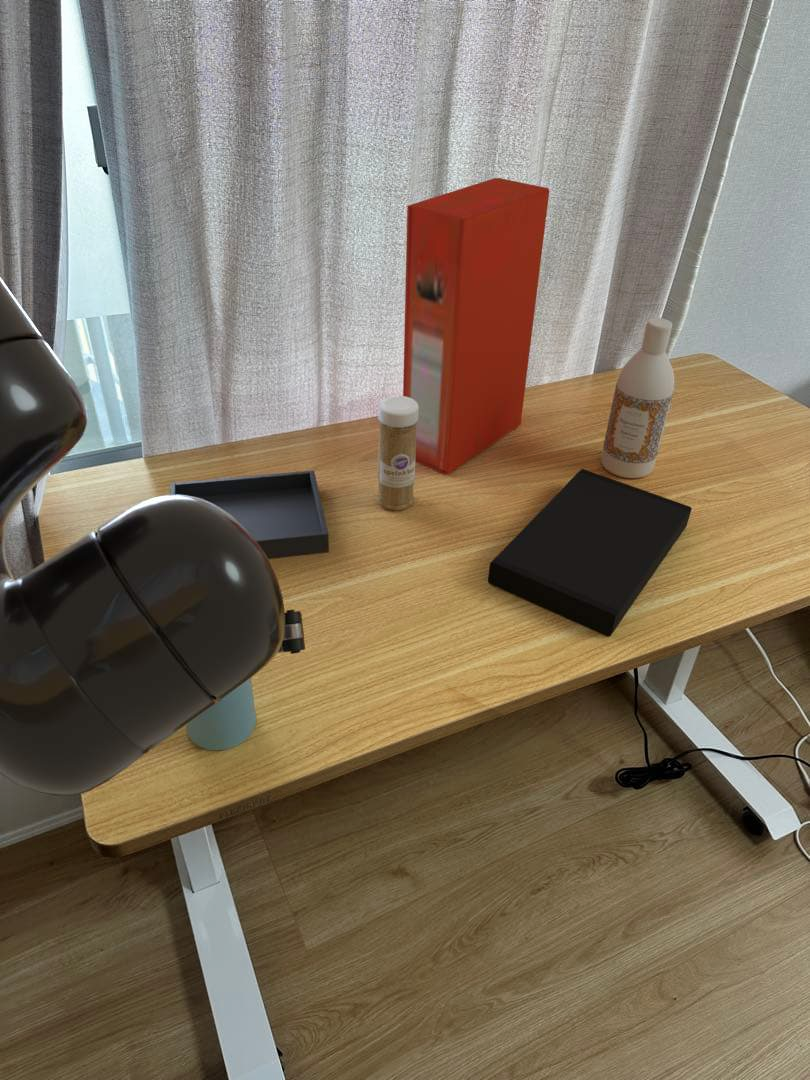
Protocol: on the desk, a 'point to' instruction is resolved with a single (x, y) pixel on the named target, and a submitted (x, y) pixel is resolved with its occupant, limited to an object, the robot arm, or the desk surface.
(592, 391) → the desk surface
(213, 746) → the bottle
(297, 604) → the desk surface
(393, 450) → the sprinkles bottle
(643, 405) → the bath foam
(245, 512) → the tray
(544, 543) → the external hard drive
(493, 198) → the file binder
